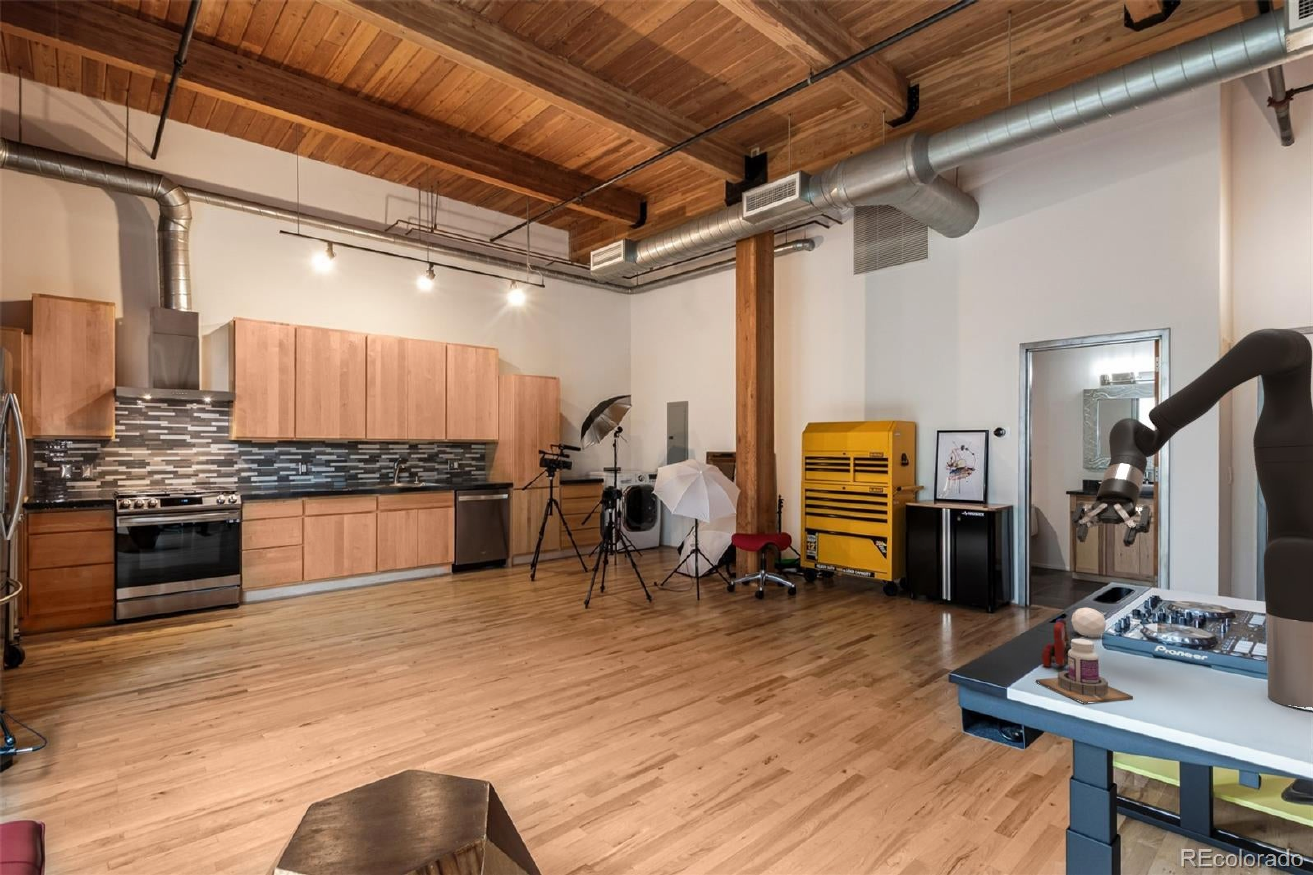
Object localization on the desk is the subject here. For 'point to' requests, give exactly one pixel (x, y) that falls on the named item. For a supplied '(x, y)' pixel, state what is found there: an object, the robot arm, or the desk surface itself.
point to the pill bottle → (1083, 662)
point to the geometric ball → (1088, 622)
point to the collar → (1084, 689)
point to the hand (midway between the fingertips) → (1103, 542)
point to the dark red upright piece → (1057, 646)
